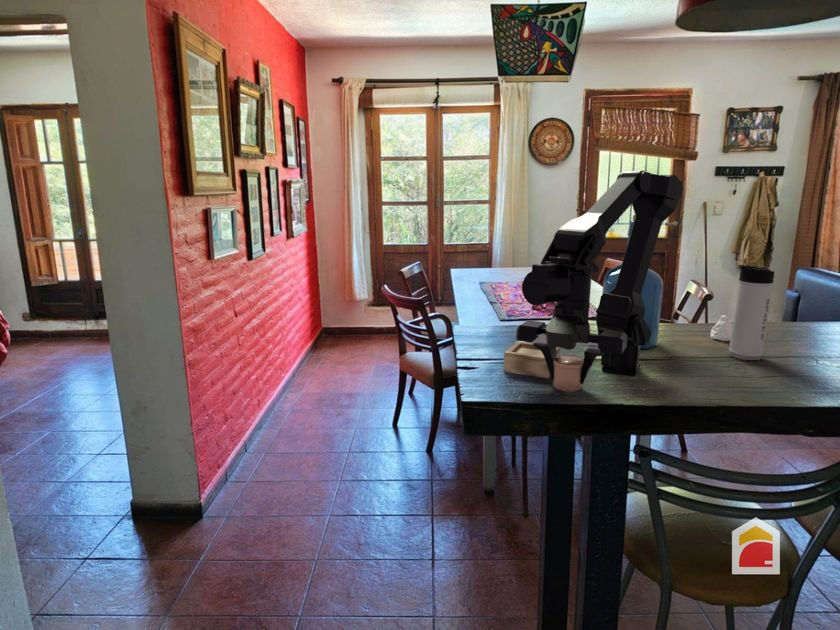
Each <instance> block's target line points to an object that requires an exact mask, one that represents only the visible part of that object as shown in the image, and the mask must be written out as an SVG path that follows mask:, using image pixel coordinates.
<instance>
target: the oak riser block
mask: <svg viewBox="0 0 840 630" xmlns="http://www.w3.org/2000/svg"><path fill="white" fill-rule="evenodd" d="M560 353H561V348H560V347H557V350H556V357H560ZM503 354H504V355H503V372H505V373H511V374H516V375H517V374H518V375H524V376H530V377H531V376H532V377H537V378H543V379H550V378H551V376H550V373H549V370H548V367H547V363H546V360H545V358H544V355H543V353H542V352H541V350H540V349H539V348H537V347H534V346H533V342H525V341H518V340H516V342H514V344H513V345H511V346H510V347H509V348H508V349H506V350H505V351H504V353H503Z"/></svg>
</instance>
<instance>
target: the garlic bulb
mask: <svg viewBox="0 0 840 630" xmlns="http://www.w3.org/2000/svg"><path fill="white" fill-rule="evenodd" d="M732 325H733V323H732V322H731V321H730V320H729V317H728V316H727V315H720V318H719V320H718V321H717V322H716V323H715V325H714V326H712V328H711V330H710V336H709V337H710V338H711V339H712V338H713V339H712V340H714V339H718V340H725V341H730V339H731V332H732Z"/></svg>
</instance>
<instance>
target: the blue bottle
mask: <svg viewBox="0 0 840 630" xmlns="http://www.w3.org/2000/svg"><path fill="white" fill-rule="evenodd" d="M635 218H636V216H635V214H633V216H632V220H630V222H629V226H628V230H627V234H626V235H627V236H628V237H627V244H626V245H628V242H629V238H630V235H631V232H632V228H633V225H634V222H635ZM621 266H622V263H621V264H619V265H617V266H615V267H613V268H611V269H610V270H609V271H608V272H607V273H606V274H605V275H604V280H603V284H602V292H601V293H602V294H603V293H607V294H609V293H610V292H611V291H612V290H613V289H614V288H615V286H616V282H617V279H618V276H619V272H620V269H621ZM663 291H664V282H663V279H662V277H661V276H660V274H658V273H657V272H656V271H654V270H653V269H650V268H649V269H648V272H647V275H646V279H645V282H644V285H643V289H642V292H641V296H642V299H643V303H644V306H645V314H644V320H645V322H646V324H647V325H648V327H649V329H650V330H651V332H652V334H651V337H650V341H649V343H647V344H646V345H645V346H640V350H647V349H650V348H653V347H655V346H657V344H658V341H659V340H658V339H659V332H660V331H659V329H660V321H661V313H662V312H661V310H662V301H663V293H664V292H663ZM602 294H601V295H602Z"/></svg>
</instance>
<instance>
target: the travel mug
mask: <svg viewBox="0 0 840 630" xmlns="http://www.w3.org/2000/svg"><path fill="white" fill-rule="evenodd" d="M738 269H740V270H739V271H740V272H739V278H738V284H737V289H736V298H735V304H734V313H733V318H732V332H731V339H730V342H729V348H728V356H730V357H731V356H732V357H731V358H733V357H734V358H733V359H736V358H738V359H737V360H740V359H743V360H742V361H746V360H758V361H760V359H761V360H762V359H763V355H764V354H763V353H764V352H763V351H764V348H765V347H764V345H765V341H766V340H765V339H766V335H767V334H766V332H767V328H768V327H767V326H768V320H769V316H770V315H769V314H770V307H771V302H772V295H773V288H774V286H773V285H774V279H775V270H771V269H769V268H764V267H763V268H762V267H757V266H750V265H744V264H739V265H738Z"/></svg>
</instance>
